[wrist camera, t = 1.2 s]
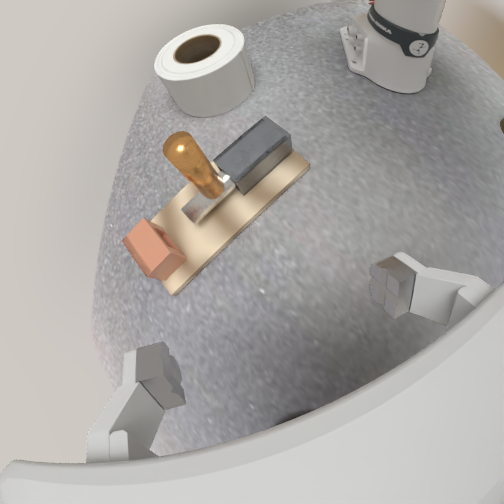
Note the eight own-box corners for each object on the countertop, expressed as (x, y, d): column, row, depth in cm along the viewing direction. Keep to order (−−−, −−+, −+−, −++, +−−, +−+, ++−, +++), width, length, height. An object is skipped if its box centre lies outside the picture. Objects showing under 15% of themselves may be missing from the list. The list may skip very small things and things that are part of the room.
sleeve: (269, 134, 40) (265, 115, 35) (292, 152, 39) (290, 134, 34) (222, 175, 40) (212, 160, 35) (244, 196, 39) (236, 182, 34)
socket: (161, 227, 40) (143, 217, 35) (187, 258, 39) (170, 252, 33) (141, 248, 40) (122, 241, 35) (165, 280, 39) (146, 277, 34)
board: (259, 127, 42) (257, 122, 40) (309, 168, 39) (310, 163, 38) (137, 243, 42) (132, 241, 41) (175, 295, 40) (171, 295, 38)
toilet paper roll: (272, 74, 44) (263, 32, 33) (218, 130, 43) (196, 89, 33) (212, 55, 48) (196, 19, 37) (162, 103, 47) (136, 69, 37)
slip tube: (264, 140, 39) (246, 74, 25) (280, 152, 38) (267, 87, 24) (186, 212, 39) (133, 172, 25) (199, 227, 38) (148, 190, 25)
